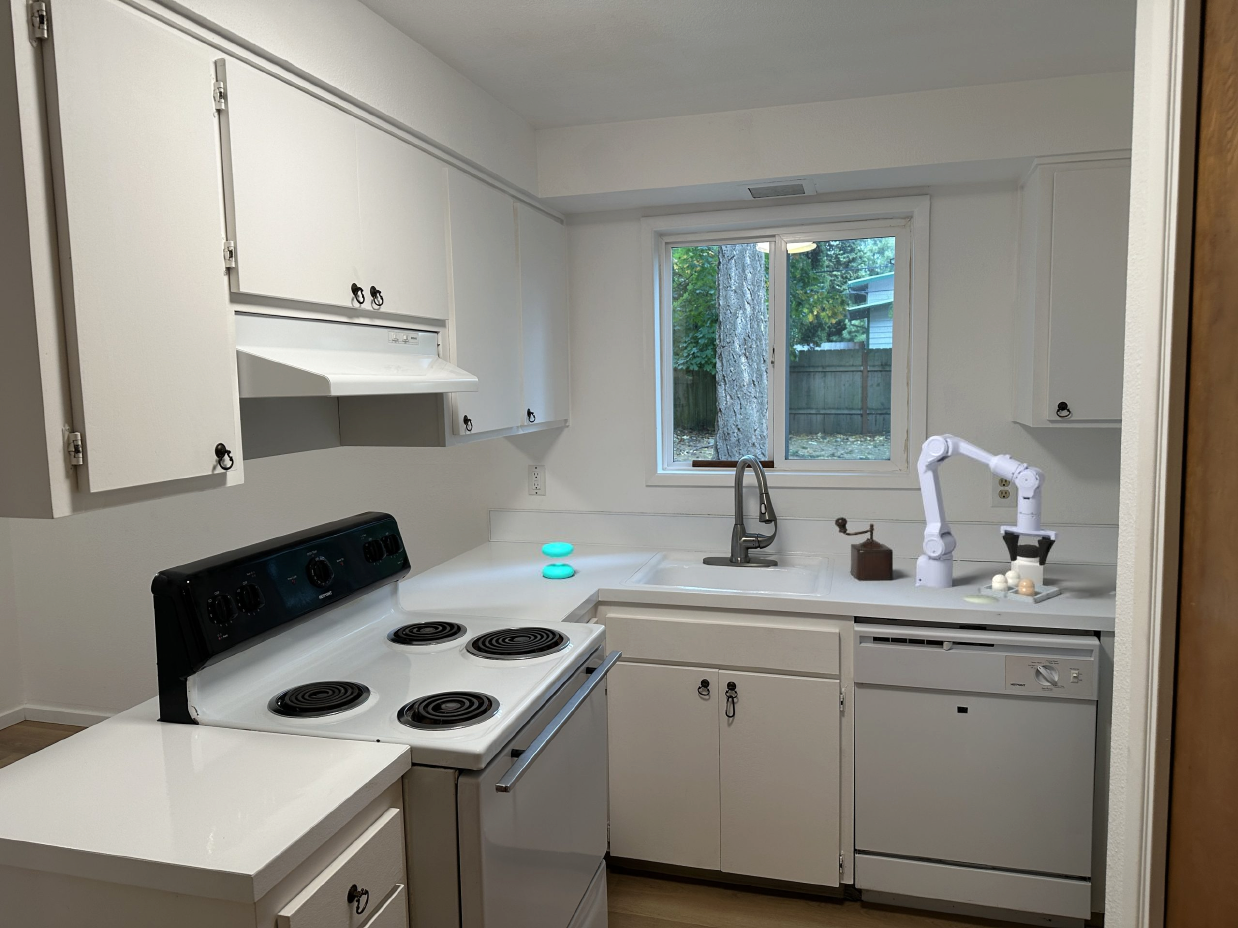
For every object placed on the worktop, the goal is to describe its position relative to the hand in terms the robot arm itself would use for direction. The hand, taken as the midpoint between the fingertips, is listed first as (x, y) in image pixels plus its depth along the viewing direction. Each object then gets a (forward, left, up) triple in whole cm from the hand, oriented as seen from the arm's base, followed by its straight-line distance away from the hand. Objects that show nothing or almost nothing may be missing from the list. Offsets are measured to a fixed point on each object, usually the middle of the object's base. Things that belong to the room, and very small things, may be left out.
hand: (1027, 562), depth 233 cm
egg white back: (-7, +7, -10) cm, 14 cm away
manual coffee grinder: (-47, -8, -11) cm, 49 cm away
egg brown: (0, 0, -10) cm, 10 cm away
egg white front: (-7, 0, -10) cm, 12 cm away
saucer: (-8, -10, -10) cm, 16 cm away
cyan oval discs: (-113, -75, -11) cm, 135 cm away
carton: (-4, +3, -10) cm, 12 cm away
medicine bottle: (-8, +16, -11) cm, 21 cm away
